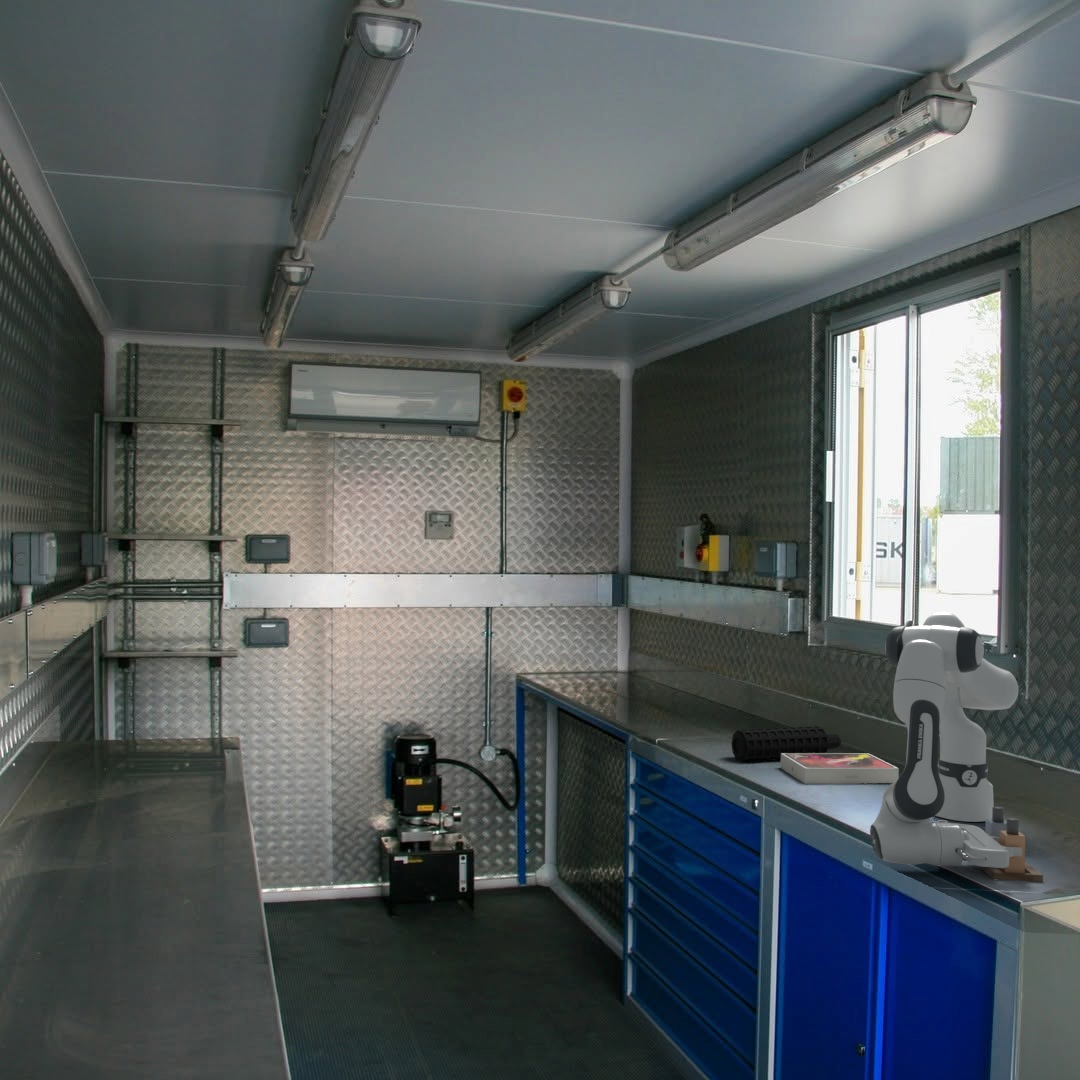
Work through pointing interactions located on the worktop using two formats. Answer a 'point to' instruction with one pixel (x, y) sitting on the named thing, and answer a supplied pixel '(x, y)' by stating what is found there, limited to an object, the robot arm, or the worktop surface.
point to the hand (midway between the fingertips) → (1016, 847)
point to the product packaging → (838, 768)
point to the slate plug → (996, 822)
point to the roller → (781, 742)
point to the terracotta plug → (1013, 839)
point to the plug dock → (1015, 874)
